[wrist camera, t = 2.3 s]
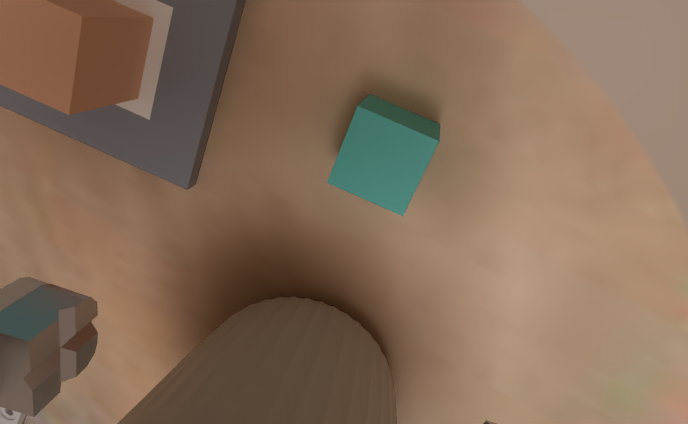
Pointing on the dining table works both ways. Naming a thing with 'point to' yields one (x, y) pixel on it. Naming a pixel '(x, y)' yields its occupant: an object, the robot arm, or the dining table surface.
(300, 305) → the canister
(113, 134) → the baseplate
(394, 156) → the teal block
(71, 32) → the terracotta block
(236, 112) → the dining table surface
